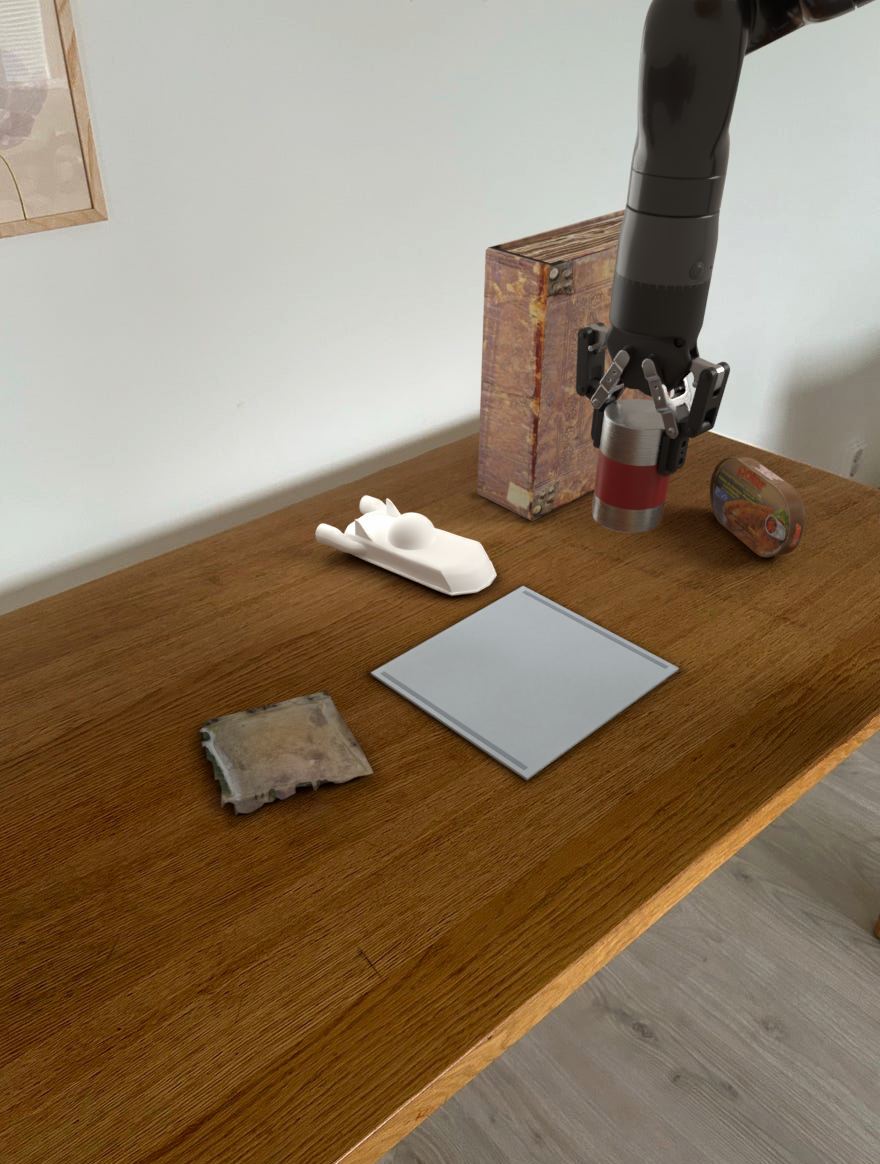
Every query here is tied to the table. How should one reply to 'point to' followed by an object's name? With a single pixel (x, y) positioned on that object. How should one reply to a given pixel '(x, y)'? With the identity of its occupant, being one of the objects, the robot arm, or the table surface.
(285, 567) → the table surface
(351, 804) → the table surface
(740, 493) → the tin
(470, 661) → the square board
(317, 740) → the parchment
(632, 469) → the can
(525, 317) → the book
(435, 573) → the white toy spaceship
